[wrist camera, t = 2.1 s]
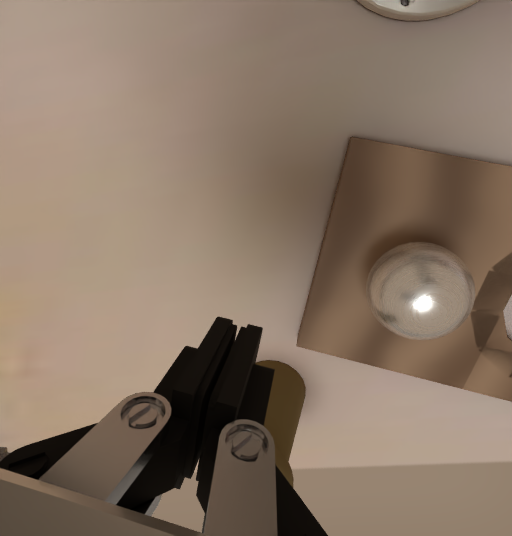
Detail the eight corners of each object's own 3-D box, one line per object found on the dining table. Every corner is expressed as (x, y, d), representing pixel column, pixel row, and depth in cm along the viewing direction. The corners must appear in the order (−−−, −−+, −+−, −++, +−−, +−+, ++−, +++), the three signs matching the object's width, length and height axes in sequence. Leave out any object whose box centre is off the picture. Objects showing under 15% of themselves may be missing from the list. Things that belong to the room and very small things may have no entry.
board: (297, 336, 28) (296, 346, 27) (350, 137, 22) (352, 136, 21) (601, 413, 26) (617, 428, 24) (750, 212, 20) (783, 217, 18)
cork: (318, 380, 29) (317, 504, 19) (286, 424, 32) (270, 555, 21) (258, 349, 29) (224, 455, 19) (230, 394, 32) (187, 511, 21)
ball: (375, 223, 22) (393, 248, 17) (467, 242, 22) (517, 274, 16) (350, 300, 25) (359, 345, 19) (433, 320, 24) (467, 372, 18)
